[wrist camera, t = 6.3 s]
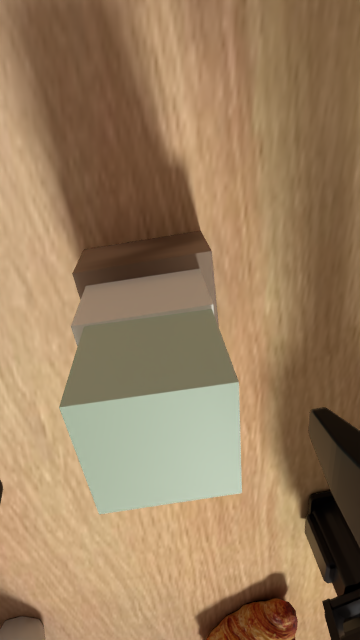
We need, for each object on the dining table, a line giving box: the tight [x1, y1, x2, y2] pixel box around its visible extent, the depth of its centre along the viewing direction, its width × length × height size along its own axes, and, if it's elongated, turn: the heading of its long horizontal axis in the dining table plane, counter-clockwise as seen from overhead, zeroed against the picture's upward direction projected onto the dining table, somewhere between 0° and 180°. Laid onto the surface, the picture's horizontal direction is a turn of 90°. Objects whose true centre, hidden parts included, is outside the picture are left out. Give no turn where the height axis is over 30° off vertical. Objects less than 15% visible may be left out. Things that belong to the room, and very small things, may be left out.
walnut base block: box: [72, 231, 219, 327], centre depth 18 cm, size 6×6×4 cm
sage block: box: [59, 309, 242, 514], centre depth 11 cm, size 4×4×4 cm
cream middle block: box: [71, 269, 214, 346], centre depth 15 cm, size 5×5×4 cm
